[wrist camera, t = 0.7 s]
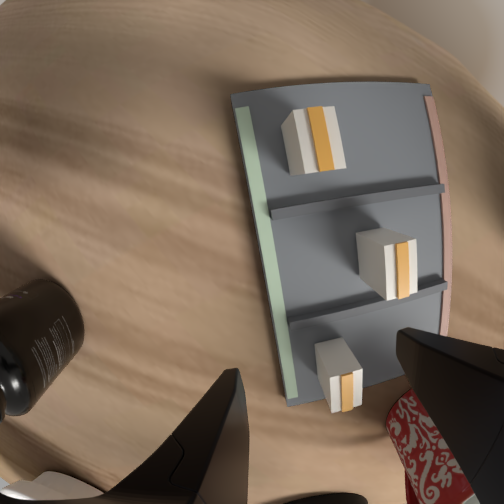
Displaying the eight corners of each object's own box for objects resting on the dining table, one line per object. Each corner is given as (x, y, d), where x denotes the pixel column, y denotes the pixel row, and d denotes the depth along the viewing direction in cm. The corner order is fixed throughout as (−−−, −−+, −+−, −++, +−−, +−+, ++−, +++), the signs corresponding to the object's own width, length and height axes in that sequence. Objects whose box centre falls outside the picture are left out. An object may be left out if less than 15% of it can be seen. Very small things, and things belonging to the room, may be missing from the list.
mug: (397, 373, 22) (479, 485, 9) (465, 367, 23) (543, 445, 10) (350, 464, 25) (386, 562, 12) (416, 453, 25) (461, 531, 12)
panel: (422, 87, 17) (435, 81, 15) (437, 353, 22) (447, 363, 20) (230, 98, 17) (229, 90, 15) (285, 398, 22) (288, 413, 20)
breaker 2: (342, 337, 19) (363, 370, 15) (344, 370, 20) (362, 406, 16) (314, 343, 19) (330, 379, 15) (317, 377, 20) (332, 415, 16)
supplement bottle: (33, 259, 19) (-81, 318, 7) (99, 311, 20) (5, 414, 8) (16, 321, 20) (-69, 392, 8) (73, 368, 21) (4, 465, 9)
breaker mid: (383, 227, 18) (418, 239, 14) (386, 271, 19) (419, 293, 14) (355, 232, 18) (385, 246, 14) (359, 278, 19) (388, 302, 14)
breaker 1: (313, 121, 16) (335, 105, 12) (323, 170, 17) (347, 167, 13) (280, 125, 16) (293, 109, 12) (290, 175, 17) (306, 173, 13)
